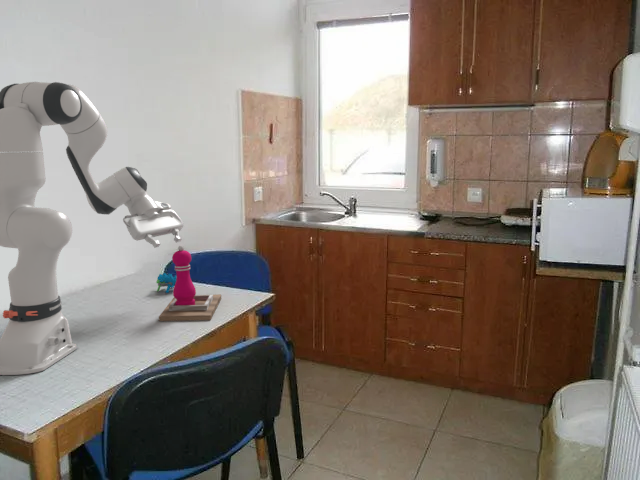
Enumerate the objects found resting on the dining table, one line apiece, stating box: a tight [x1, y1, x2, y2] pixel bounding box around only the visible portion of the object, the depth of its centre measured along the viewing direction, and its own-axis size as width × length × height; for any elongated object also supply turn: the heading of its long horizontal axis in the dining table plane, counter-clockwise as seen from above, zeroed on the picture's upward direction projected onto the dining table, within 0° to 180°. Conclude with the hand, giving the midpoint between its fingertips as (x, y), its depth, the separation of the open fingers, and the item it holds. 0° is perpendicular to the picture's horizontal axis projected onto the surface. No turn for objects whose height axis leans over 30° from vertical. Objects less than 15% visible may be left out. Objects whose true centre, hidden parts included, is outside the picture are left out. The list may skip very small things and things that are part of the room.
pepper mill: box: [171, 245, 197, 305], centre depth 171 cm, size 7×7×20 cm
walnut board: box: [158, 294, 222, 322], centre depth 174 cm, size 22×16×3 cm
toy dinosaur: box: [155, 272, 177, 294], centre depth 195 cm, size 11×6×10 cm
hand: (168, 243), depth 175 cm, fingers open, 8 cm apart
